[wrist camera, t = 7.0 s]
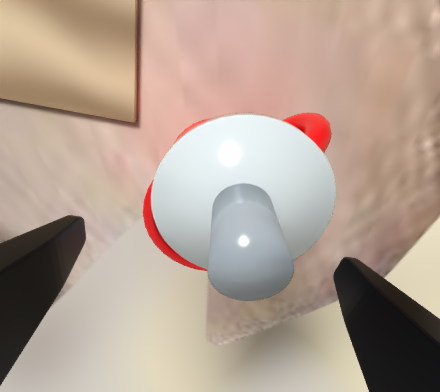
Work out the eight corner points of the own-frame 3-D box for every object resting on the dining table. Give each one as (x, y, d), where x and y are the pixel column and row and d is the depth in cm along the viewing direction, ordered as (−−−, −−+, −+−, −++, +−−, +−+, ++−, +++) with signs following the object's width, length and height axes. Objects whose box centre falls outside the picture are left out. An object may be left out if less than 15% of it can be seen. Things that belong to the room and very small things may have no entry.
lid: (296, 272, 15) (324, 353, 11) (152, 254, 14) (124, 333, 10) (360, 131, 11) (448, 177, 7) (158, 95, 10) (112, 121, 6)
